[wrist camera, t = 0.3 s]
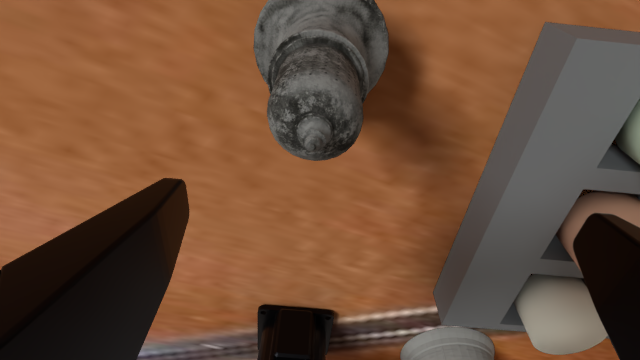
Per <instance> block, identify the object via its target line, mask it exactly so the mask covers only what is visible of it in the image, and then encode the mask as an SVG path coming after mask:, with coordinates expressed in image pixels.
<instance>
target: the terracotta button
mask: <svg viewBox="0 0 640 360" xmlns="http://www.w3.org/2000/svg"><path fill="white" fill-rule="evenodd" d="M593 213H606V214H613V215H616V216H618V217H620V218H622V219H624V220H626V221H628V222H630V223H632V224H634V225H636V226H638V227H640V200H639V199H638V198H637V197H636V196H635V195H633V194H630V193H620V192H609V191H599V190H597V191H594V192H591V193H588V194H586V195H583V196H581V197H579V198H578V199H577V200H576V202H575V203H574V205H573V207H572V208H571V210H570V211H569V213H568V215H567V216H566V218H565V219H564V221H563V223H562V224H561V226H560V227H559V229H558V231H557V232H556V236H557V238H558V239H559V241H560V242H561V243H562V245H563V246H564V248H565V249H566V251H567V252H568V254H569V255H570V256H571V258H572V259H573V261H574V262H575V264H576V265H577V266H578V268H579V269H580V267H579V264H578V261H577V259H576V256H575V253H574V251H573V241H574V238H575V237H576V235H577V233H578V232H579V230H580V229H581V227H582V225H583V224H584V222H585V221H586V219H587V218H588V216H590V215H591V214H593ZM580 271H581V270H580Z"/></svg>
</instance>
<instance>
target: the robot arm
mask: <svg viewBox="0 0 640 360" xmlns="http://www.w3.org/2000/svg"><path fill="white" fill-rule="evenodd" d="M188 219H189V204H188V197H187V190H186V184H185V182H184V181H183V180H182V179H173V178H163V179H161V180H159V181H158V182H156V183H154V184H152V185H150V186H149V187H147V188H145V189H143V190H141V191H139V192H138V193H136V194H134V195H132V196H130V197H128V198H127V199H125V200H123V201H121V202H119V203H118V204H116V205H114V206H112V207H110V208H108V209H107V210H105V211H103V212H101V213H99V214H98V215H96V216H94V217H92V218H90V219H88V220H87V221H85V222H83V223H81V224H79V225H77V226H76V227H74V228H72V229H70V230H68V231H67V232H65V233H63V234H61V235H59V236H57V237H56V238H54V239H52V240H50V241H48V242H46V243H45V244H43V245H41V246H39V247H37V248H35V249H34V250H32V251H30V252H28V253H26V254H24V255H23V256H21V257H19V258H17V259H15V260H14V261H12V262H10V263H8V264H6V265H4V266H3V267H2V269H1V270H0V360H136V359H137V357H138V354H139V352H140V350H141V348H142V345H143V343H144V341H145V338H146V336H147V334H148V331H149V329H150V327H151V324H152V322H153V320H154V317H155V315H156V313H157V310H158V308H159V306H160V304H161V301H162V299H163V297H164V294H165V292H166V290H167V287H168V285H169V282H170V280H171V277H172V273H173V270H174V267H175V264H176V260H177V257H178V253H179V250H180V247H181V243H182V240H183V236H184V233H185V230H186V226H187V223H188ZM573 251H574V253H575V256H576V259H577V261H578V264H579V267H580V270H581V272H582V275H583V278H584V280H585V283H586V286H587V288H588V291H589V294H590V296H591V299H592V302H593V304H594V307H595V309H596V311H597V314H598V316H599V318H600V320H601V322H602V324H603V326H604V328H605V330H606V332H607V334H608V336H609V338H610V340H611V343H612V345H613V347H614V349H615V351H616V353H617V355H618V357H619V359H620V360H640V227H638V226H636V225H634V224H632V223H630V222H628V221H626V220H624V219H622V218H620V217H618V216H616V215H613V214H606V213H593V214H591V215H590V216H588V218H587V219H586V221H585V222H584V224H583V225H582V227H581V229H580V230H579V232H578V233H577V235H576V237H575V238H574V241H573ZM333 319H334V313H333V312H332V311H329V310H317V309H305V308H293V307H280V306H268V305H261V306H259V308H258V350H259V353H258V359H257V360H325V355H326V354H327V351H328V346H329V340H330V335H331V330H332V325H333Z"/></svg>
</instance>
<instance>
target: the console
mask: <svg viewBox="0 0 640 360" xmlns="http://www.w3.org/2000/svg"><path fill="white" fill-rule="evenodd" d="M639 99H640V32H632V31H622V30H613V29H604V28H595V27H586V26H576V25H567V24H558V23H549V22H545V24H544V26H543V29H542V31H541V34H540V36H539V38H538V41H537V43H536V46H535V48H534V50H533V53H532V55H531V58H530V60H529V62H528V65H527V67H526V70H525V72H524V75H523V77H522V79H521V82H520V84H519V87H518V89H517V91H516V94H515V96H514V99H513V101H512V103H511V106H510V108H509V111H508V113H507V115H506V118H505V120H504V123H503V125H502V127H501V130H500V132H499V135H498V137H497V139H496V142H495V144H494V147H493V149H492V152H491V154H490V156H489V159H488V161H487V164H486V166H485V168H484V171H483V173H482V176H481V178H480V180H479V183H478V185H477V188H476V190H475V192H474V195H473V197H472V200H471V202H470V204H469V207H468V209H467V212H466V214H465V217H464V219H463V221H462V224H461V226H460V229H459V231H458V233H457V236H456V238H455V241H454V243H453V245H452V248H451V250H450V253H449V255H448V257H447V260H446V262H445V265H444V267H443V269H442V272H441V274H440V277H439V279H438V281H437V284H436V286H435V289H434V291H433V294H434V298H435V302H436V305H437V309H438V313H439V317H440V320H441V324H442V325H450V326H462V327H474V328H486V329H499V330H511V331H523V332H527V331H526V329H525V327H524V325H523V322H522V320H521V318H520V316H519V314H518V312H517V309H516V307H515V305H514V303H513V302H514V300H515V298H516V297H517V295H518V294H519V292H520V290H521V289H522V287H523V285H524V284H525V282H526V281H527V279H528V277H529V276H530V274H541V275H553V276H564V277H576V278H581V280H582V281H583V282H584V284H585V285H586V283H585V280H584V278H583V275H582V272H581V271H580V269H579V268H578V266H577V265H576V264H575V262H574V261H573V259H572V258H571V256H570V255H569V254H568V252H567V251H566V249H565V248H564V246H563V245H562V243H561V242H560V241H559V239H558V238H557V236H556V232H557V231H558V229H559V227H560V226H561V224H562V223H563V221H564V219H565V218H566V216H567V215H568V213H569V211H570V210H571V208H572V207H573V205H574V203H575V202H576V200H577V198H578V197H579V195H580V194H581V192H582V190H583V189H588V190H599V191H609V192H620V193H630V194H633V195H635V196H636V197H637V198H638V199H639V200H640V165H639V164H638V163H637V162H636V161H634V160H633V159H632V158H631V157H629V156H628V155H627V154H626V153H625V152H623V151H622V150H621V149H620V148H619V147H618V145H611V144H612V142H613V140H614V139H615V137H616V136H617V134H618V132H619V131H620V129H621V128H622V126H623V124H624V123H625V121H626V119H627V118H628V116H629V115H630V113H631V111H632V110H633V108H634V107H635V105H636V103H637V102H638V100H639ZM586 287H587V286H586ZM606 338H609V336H607V337H606ZM609 339H610V338H609Z"/></svg>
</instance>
